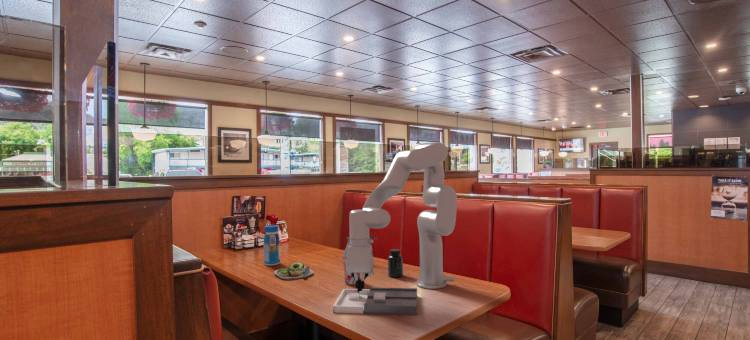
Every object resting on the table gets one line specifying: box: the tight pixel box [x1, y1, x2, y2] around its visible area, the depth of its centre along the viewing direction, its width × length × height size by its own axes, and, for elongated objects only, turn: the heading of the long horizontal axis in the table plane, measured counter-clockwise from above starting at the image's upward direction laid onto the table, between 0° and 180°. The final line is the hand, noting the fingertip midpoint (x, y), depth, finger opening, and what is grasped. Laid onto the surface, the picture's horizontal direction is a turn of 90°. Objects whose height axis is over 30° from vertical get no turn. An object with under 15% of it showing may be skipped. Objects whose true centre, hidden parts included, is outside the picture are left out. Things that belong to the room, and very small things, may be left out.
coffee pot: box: [342, 235, 377, 260], centre depth 204 cm, size 21×12×15 cm, turn 54°
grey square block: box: [374, 292, 386, 304], centre depth 139 cm, size 4×4×2 cm
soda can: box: [343, 255, 361, 286], centre depth 169 cm, size 7×7×12 cm
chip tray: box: [332, 288, 371, 314], centre depth 144 cm, size 11×19×2 cm, turn 173°
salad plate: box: [274, 261, 314, 281], centre depth 183 cm, size 19×18×5 cm
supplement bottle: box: [387, 248, 404, 279], centre depth 179 cm, size 7×7×12 cm
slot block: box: [363, 286, 418, 316], centre depth 143 cm, size 18×19×3 cm
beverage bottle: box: [262, 224, 281, 266], centre depth 204 cm, size 8×8×20 cm
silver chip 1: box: [348, 290, 360, 300], centre depth 148 cm, size 4×4×2 cm
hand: (360, 290), depth 149 cm, fingers closed
